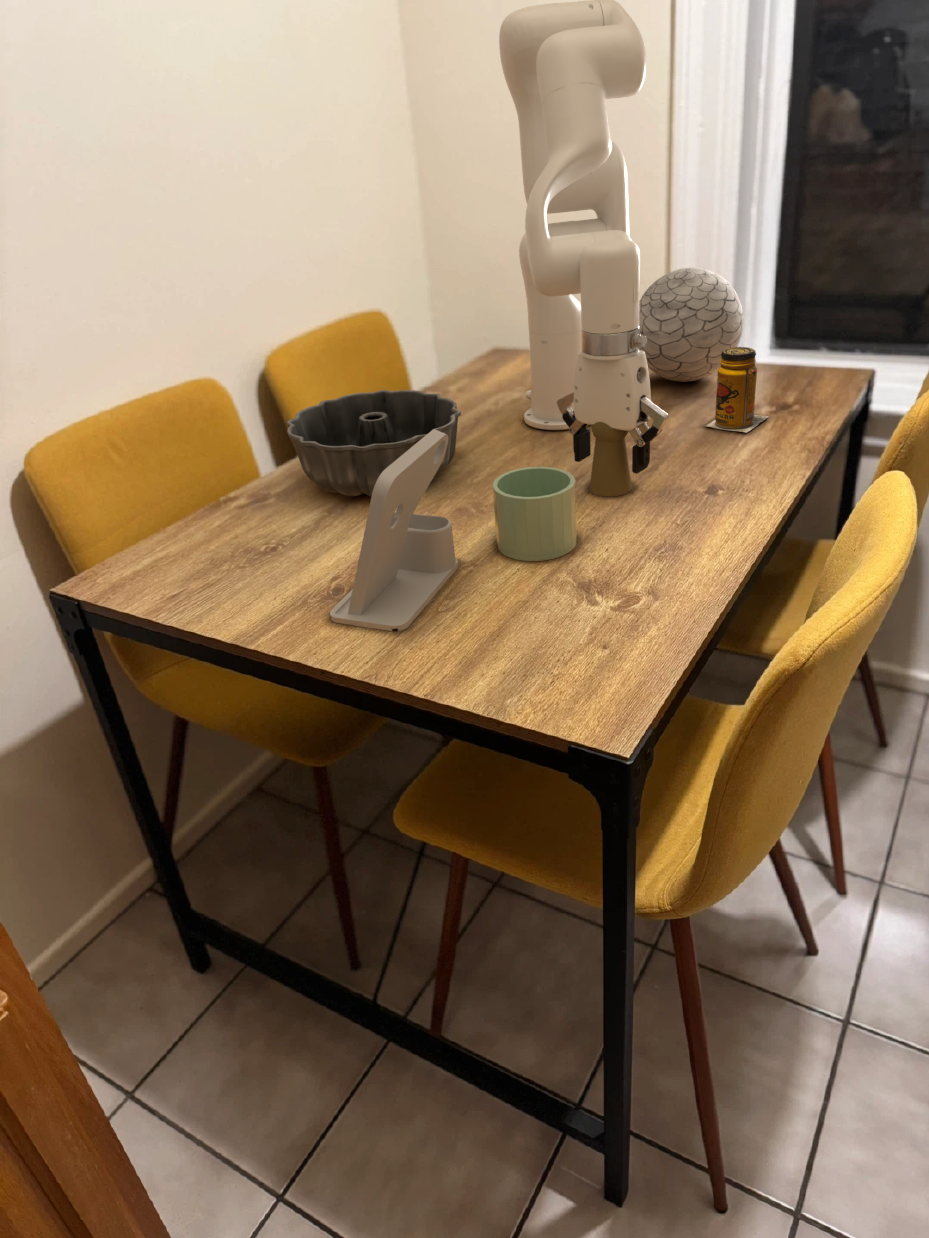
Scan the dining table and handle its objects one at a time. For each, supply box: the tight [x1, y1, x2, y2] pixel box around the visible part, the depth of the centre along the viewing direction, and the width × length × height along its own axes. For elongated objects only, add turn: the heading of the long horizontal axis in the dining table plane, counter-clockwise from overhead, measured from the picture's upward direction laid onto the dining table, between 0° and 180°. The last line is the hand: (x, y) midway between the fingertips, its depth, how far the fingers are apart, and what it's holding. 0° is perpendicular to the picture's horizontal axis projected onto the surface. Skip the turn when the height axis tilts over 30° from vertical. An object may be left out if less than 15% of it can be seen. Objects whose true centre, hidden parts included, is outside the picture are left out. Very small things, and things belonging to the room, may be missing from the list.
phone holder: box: [329, 429, 459, 632], centre depth 103 cm, size 17×10×18 cm, turn 157°
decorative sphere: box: [639, 267, 744, 383], centre depth 164 cm, size 20×20×20 cm
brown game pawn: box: [589, 422, 633, 498], centre depth 125 cm, size 6×6×11 cm
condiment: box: [705, 346, 770, 433], centre depth 143 cm, size 7×8×12 cm
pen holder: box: [492, 466, 577, 562], centre depth 113 cm, size 10×10×8 cm
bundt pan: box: [286, 389, 462, 498], centre depth 137 cm, size 26×26×10 cm
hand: (610, 464), depth 126 cm, fingers open, 9 cm apart
